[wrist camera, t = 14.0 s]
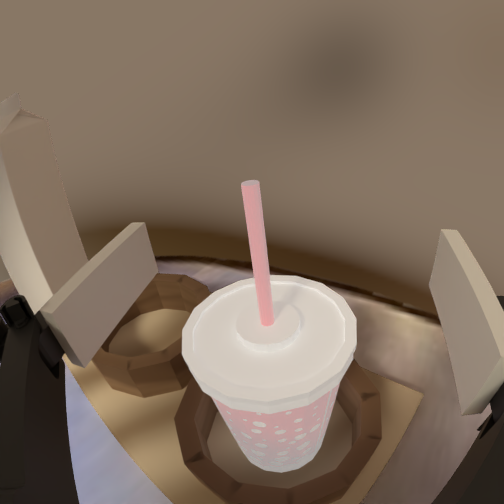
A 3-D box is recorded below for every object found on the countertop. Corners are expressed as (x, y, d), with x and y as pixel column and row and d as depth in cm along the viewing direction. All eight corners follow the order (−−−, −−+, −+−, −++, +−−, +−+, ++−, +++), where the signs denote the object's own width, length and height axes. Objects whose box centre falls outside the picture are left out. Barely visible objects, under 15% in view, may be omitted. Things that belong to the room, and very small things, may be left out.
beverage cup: (280, 377, 19) (254, 148, 12) (358, 428, 15) (408, 173, 8) (204, 436, 15) (103, 203, 8) (281, 506, 11) (235, 283, 4)
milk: (66, 295, 31) (6, 106, 20) (105, 299, 30) (44, 85, 19) (37, 330, 26) (-41, 122, 15) (76, 338, 25) (-9, 97, 14)
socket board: (65, 359, 22) (42, 324, 20) (181, 284, 31) (172, 248, 29) (283, 585, 8) (282, 592, 6) (418, 404, 16) (439, 364, 14)
